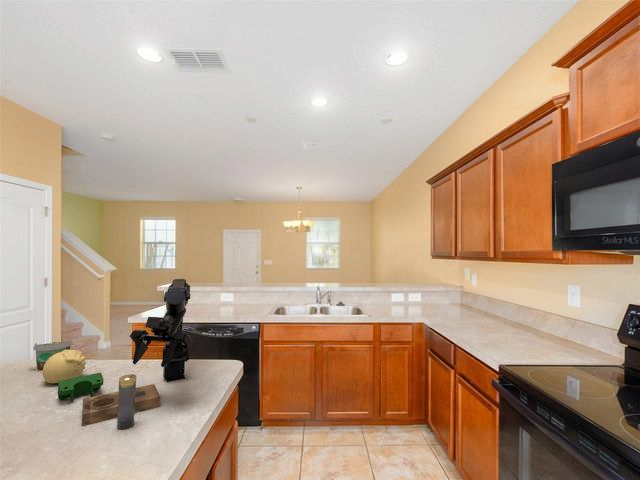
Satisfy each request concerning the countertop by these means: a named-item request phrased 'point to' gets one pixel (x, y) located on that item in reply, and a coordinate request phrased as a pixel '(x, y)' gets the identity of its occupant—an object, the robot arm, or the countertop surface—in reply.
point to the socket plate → (108, 404)
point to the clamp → (80, 386)
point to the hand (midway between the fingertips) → (147, 365)
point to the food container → (49, 351)
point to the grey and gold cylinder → (126, 401)
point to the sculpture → (64, 366)
